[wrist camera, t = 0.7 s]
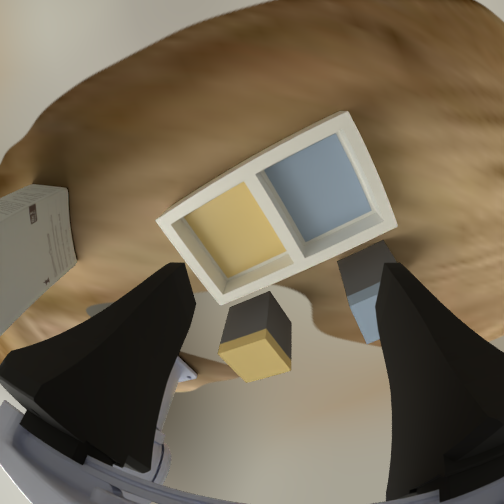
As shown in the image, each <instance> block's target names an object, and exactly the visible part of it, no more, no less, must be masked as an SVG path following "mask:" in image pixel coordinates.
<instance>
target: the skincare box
mask: <svg viewBox="0 0 504 504" xmlns="http://www.w3.org/2000/svg"><path fill="white" fill-rule="evenodd" d="M76 263H77V260H76V254H75V252H74V246H73V241H72V234H71V227H70V219H69V205H68V190H67V188H64V187H55V186H46V185H37V184H31V185H28V186H26V187H24V188H22V189H19V190H17V191H15V192H13V193H11V194H9V195H6V196H4V197H2V198H0V336H1V335H2V334H3V333H4V332H5V331H6V330H7V329H8V328H9V327H10V326H11V325H12V323H13V322H14V321H15V320H17V319H18V318H19V317H20V316H21V315H22V314H23V312H25V311H26V310H27V309H28V308H29V307H30V306H31V305H32V304H33V303H34V302H35V301H36V300H37V299H38V298H39V297H40V296H41V295H42V294H43V293H44V292H46V291H47V290H48V289H49V288H50V287H51V286H52V285H53V284H54V283H56V282H57V281H58V280H59V279H60V278H61V277H62V276H63V275H65V274H66V273H67V272H68V271H69V270H70V269H71V268H73V267H74V266H75V264H76Z"/></svg>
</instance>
